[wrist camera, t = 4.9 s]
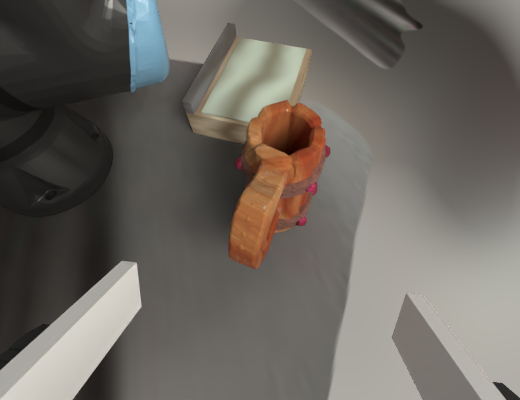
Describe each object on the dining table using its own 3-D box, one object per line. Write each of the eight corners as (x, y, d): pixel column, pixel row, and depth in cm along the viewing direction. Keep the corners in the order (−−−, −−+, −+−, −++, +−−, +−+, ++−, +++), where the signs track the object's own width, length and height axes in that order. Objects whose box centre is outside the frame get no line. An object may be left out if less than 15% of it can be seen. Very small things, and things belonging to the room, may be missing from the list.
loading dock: (193, 132, 37) (181, 101, 32) (232, 58, 45) (227, 23, 39) (283, 153, 35) (286, 123, 30) (307, 72, 43) (314, 36, 37)
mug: (260, 168, 34) (259, 69, 21) (317, 186, 33) (355, 93, 19) (215, 267, 28) (171, 221, 15) (281, 295, 27) (300, 271, 13)
